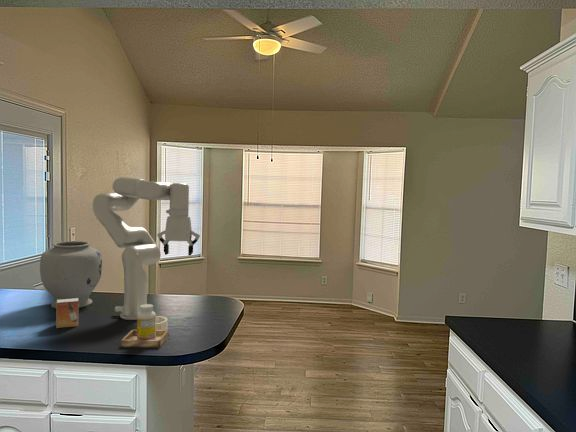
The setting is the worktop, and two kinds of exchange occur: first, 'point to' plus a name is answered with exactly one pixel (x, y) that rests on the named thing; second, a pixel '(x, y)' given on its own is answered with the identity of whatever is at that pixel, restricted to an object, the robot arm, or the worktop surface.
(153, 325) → the supplement bottle
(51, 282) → the grey ceramic vase
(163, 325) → the holder
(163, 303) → the worktop surface
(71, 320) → the small box
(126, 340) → the tray
